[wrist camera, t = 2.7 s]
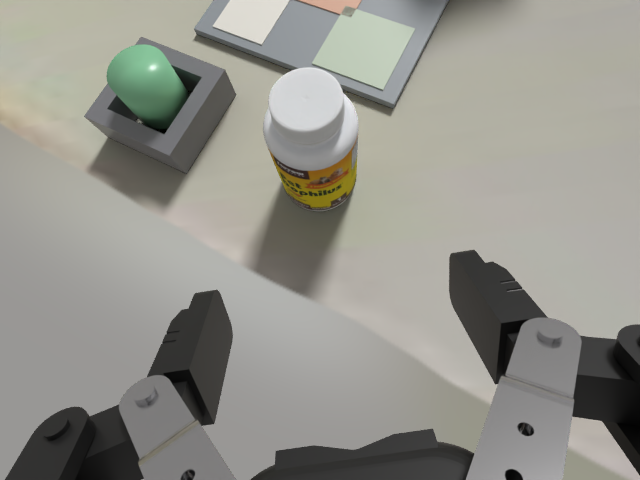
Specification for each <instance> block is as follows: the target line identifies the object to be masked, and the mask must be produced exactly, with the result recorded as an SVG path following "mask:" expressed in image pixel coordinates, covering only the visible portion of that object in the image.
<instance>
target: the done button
mask: <svg viewBox="0 0 640 480" xmlns="http://www.w3.org/2000/svg"><path fill="white" fill-rule="evenodd" d="M107 82H108V84H109V87H110V88H111V89H112V90H113V91H114V93H115V94H116V95H117V96H118V97H119V98H120V99H121V100H122V101H123V102H124V103H125V104H126V105H127V106H128V108H129V109H130V110H131V111H132V112H133V113H134V114H135V115H136V116H137V117H138V118H139V119H140V120H141V122H142V123H143V124H145V125H146V126H148V127H150V128H153V129H166V128H169V127H170V125H171V124H172V122H173V121H174V119H175V118H176V116H177V115H178V113H179V112H180V110H181V109H182V107H183V105H184V104H185V102H186V101H187V99H188V98H189V96H190V95H189V93H188V91H187V89H186V88H185V86H184V85H183V83H182V82H181V80H180V78H179V77H178V75H177V74H176V72H175V71H174V69H173V68H172V66H171V64H170V63H169V61H168V60H167V58H166V57H165V55H164V54H163V52H162V51H161V50H159V49H158V48H156V47H154V46H151V45H145V44H142V45H135V46H131V47H129V48H126V49H124V50H123V51H121V52H120V53H119V54H117V55H116V56H115V57H114V59H113V60H112V61H111V63H110V65H109V67H108V70H107Z"/></svg>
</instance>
